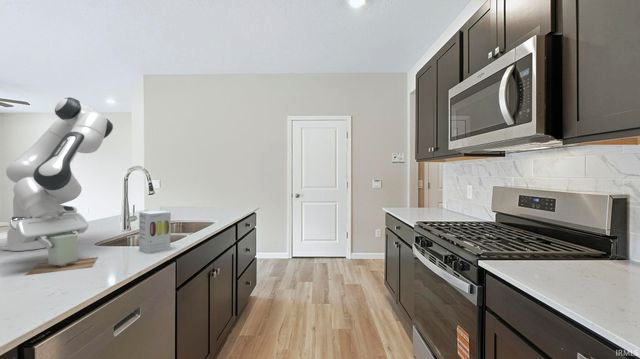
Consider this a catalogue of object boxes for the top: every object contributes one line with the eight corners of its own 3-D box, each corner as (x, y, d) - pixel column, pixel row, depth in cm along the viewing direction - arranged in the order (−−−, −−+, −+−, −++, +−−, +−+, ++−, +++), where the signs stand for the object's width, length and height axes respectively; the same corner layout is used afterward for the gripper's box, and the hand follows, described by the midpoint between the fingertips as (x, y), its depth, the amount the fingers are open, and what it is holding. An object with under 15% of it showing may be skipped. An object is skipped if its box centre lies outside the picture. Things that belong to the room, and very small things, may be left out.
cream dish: (60, 265, 104) (59, 262, 104) (68, 264, 105) (68, 261, 105) (58, 266, 102) (58, 263, 102) (66, 265, 104) (66, 263, 103)
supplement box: (148, 254, 122) (147, 213, 122) (138, 251, 128) (138, 211, 128) (171, 250, 130) (171, 211, 130) (161, 246, 136) (161, 209, 135)
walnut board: (39, 266, 106) (39, 263, 106) (98, 260, 114) (98, 257, 114) (24, 279, 94) (24, 275, 94) (92, 270, 102) (92, 267, 102)
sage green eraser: (48, 263, 102) (48, 237, 102) (68, 258, 108) (67, 233, 107) (58, 265, 100) (57, 238, 100) (77, 260, 106) (77, 234, 106)
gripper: (11, 213, 96) (31, 246, 93) (80, 206, 115) (98, 233, 112) (3, 226, 97) (22, 258, 95) (72, 217, 117) (90, 244, 114)
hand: (64, 245), depth 104 cm, fingers closed on sage green eraser, 6 cm apart
